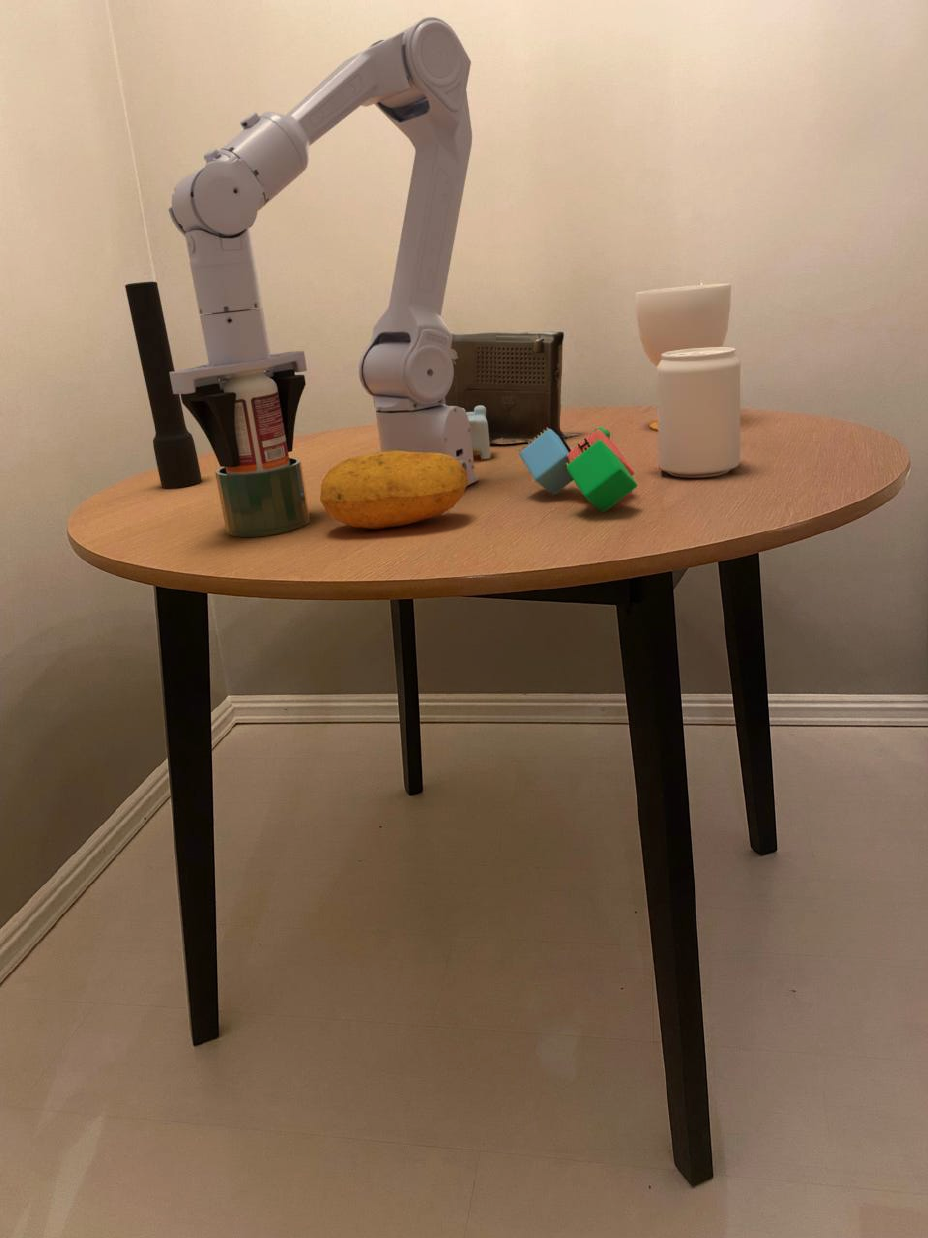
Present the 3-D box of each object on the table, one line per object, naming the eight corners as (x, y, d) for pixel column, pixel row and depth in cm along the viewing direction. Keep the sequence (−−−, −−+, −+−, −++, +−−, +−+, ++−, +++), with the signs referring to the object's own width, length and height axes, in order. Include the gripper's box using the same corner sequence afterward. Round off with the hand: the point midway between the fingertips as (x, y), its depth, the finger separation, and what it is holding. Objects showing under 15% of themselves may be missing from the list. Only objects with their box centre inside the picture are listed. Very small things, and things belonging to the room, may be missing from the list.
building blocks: (588, 553, 90) (535, 467, 96) (657, 500, 87) (599, 415, 93) (549, 524, 84) (496, 434, 90) (623, 466, 81) (563, 378, 87)
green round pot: (326, 516, 94) (317, 457, 92) (274, 538, 88) (264, 475, 86) (262, 513, 98) (252, 456, 96) (209, 535, 92) (197, 474, 90)
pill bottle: (289, 463, 95) (270, 347, 91) (292, 474, 89) (272, 351, 85) (227, 471, 94) (205, 354, 90) (226, 483, 88) (203, 359, 84)
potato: (332, 521, 92) (321, 452, 90) (471, 508, 91) (464, 439, 89) (319, 543, 85) (308, 468, 82) (471, 529, 84) (464, 454, 82)
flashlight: (197, 485, 116) (205, 477, 121) (156, 280, 108) (167, 280, 113) (157, 490, 116) (167, 481, 121) (113, 284, 108) (125, 284, 113)
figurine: (487, 449, 121) (482, 401, 119) (492, 460, 113) (488, 409, 111) (456, 452, 121) (451, 404, 119) (460, 464, 113) (455, 412, 111)
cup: (639, 435, 119) (635, 294, 113) (638, 420, 130) (635, 290, 124) (735, 429, 117) (735, 284, 111) (726, 414, 128) (726, 282, 122)
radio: (579, 434, 124) (573, 317, 119) (552, 447, 117) (544, 323, 112) (431, 434, 136) (419, 327, 131) (398, 446, 129) (384, 334, 124)
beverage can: (742, 477, 93) (743, 352, 89) (658, 481, 95) (655, 358, 90) (736, 460, 100) (737, 344, 96) (659, 464, 102) (656, 350, 98)
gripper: (263, 306, 94) (285, 442, 98) (138, 321, 83) (169, 473, 88) (311, 302, 89) (332, 444, 94) (186, 317, 79) (217, 476, 84)
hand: (257, 458), depth 91 cm, fingers closed on pill bottle, 6 cm apart
